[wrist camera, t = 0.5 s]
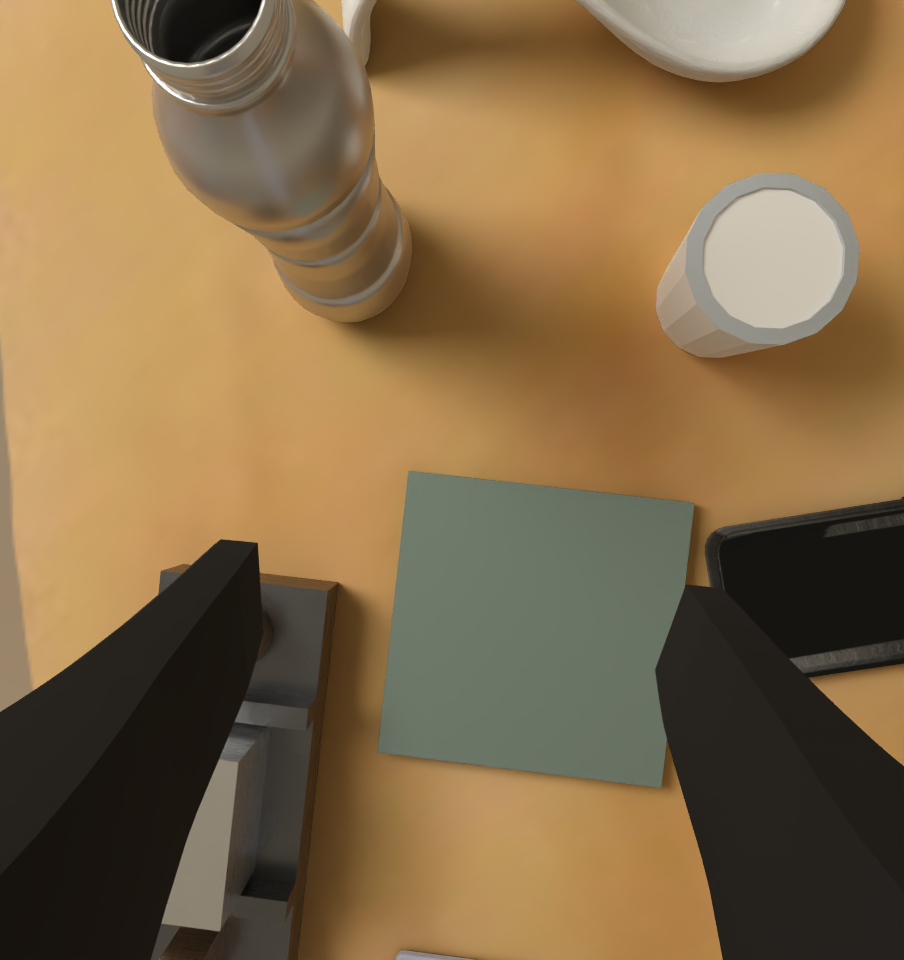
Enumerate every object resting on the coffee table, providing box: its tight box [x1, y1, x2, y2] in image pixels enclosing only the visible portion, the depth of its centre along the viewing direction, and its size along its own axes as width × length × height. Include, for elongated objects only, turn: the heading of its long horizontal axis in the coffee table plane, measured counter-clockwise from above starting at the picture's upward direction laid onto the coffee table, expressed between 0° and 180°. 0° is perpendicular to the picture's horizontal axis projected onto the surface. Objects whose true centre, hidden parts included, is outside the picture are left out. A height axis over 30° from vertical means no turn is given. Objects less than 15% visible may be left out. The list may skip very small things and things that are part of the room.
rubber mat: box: [378, 471, 694, 788], centre depth 34 cm, size 14×14×1 cm
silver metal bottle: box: [110, 0, 412, 323], centre depth 25 cm, size 6×7×20 cm
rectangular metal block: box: [161, 722, 270, 931], centre depth 31 cm, size 7×4×4 cm, turn 174°
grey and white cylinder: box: [656, 173, 859, 358], centre depth 31 cm, size 7×7×7 cm
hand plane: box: [151, 564, 338, 960], centre depth 32 cm, size 20×8×6 cm, turn 174°
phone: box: [705, 497, 904, 678], centre depth 34 cm, size 8×1×15 cm
